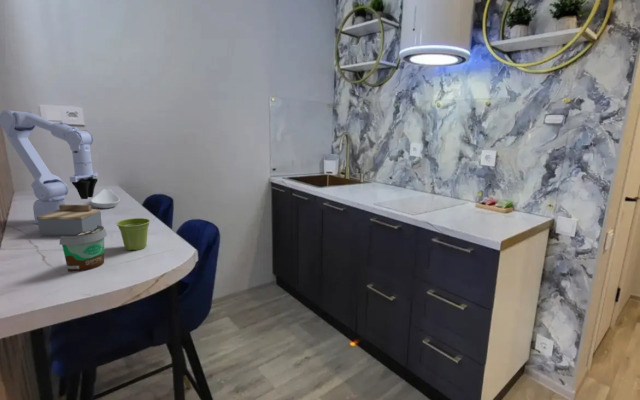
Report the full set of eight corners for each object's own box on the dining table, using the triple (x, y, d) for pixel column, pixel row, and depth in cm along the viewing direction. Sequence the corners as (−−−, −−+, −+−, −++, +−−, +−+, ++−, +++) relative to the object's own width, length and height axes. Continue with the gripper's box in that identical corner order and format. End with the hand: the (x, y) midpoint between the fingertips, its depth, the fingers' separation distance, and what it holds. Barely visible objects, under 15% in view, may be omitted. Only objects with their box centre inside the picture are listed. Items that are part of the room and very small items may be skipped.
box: (40, 236, 115) (37, 219, 114) (62, 226, 127) (61, 211, 126) (83, 236, 117) (81, 219, 116) (101, 226, 128) (100, 211, 127)
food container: (82, 276, 87) (78, 239, 85) (62, 273, 88) (58, 236, 86) (119, 259, 98) (116, 226, 96) (101, 256, 100) (98, 224, 98)
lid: (37, 219, 114) (36, 210, 114) (61, 210, 126) (60, 203, 125) (81, 219, 116) (80, 211, 115) (100, 211, 127) (99, 203, 127)
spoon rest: (120, 209, 157) (119, 194, 156) (90, 211, 151) (88, 195, 150) (120, 199, 177) (119, 186, 176) (94, 201, 171) (92, 187, 170)
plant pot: (129, 255, 102) (127, 227, 100) (112, 248, 107) (110, 222, 105) (157, 246, 110) (156, 221, 108) (141, 241, 115) (139, 216, 113)
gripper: (82, 164, 120) (87, 201, 123) (104, 161, 134) (107, 194, 137) (61, 164, 120) (66, 201, 122) (85, 161, 134) (89, 194, 136)
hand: (87, 198), depth 130 cm, fingers open, 3 cm apart
